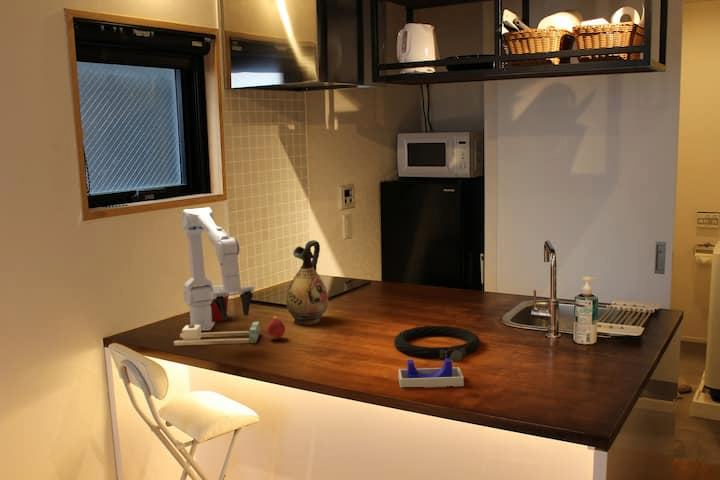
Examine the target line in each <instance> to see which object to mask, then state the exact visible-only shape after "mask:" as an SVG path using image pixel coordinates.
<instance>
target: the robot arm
mask: <svg viewBox="0 0 720 480" xmlns="http://www.w3.org/2000/svg"><path fill="white" fill-rule="evenodd" d="M180 221H181V229H182V232H184V233H186V236H187V248H188V259H189V270H190V278H189V279H188V280H187V281H186V282H185V283H184V284H183V299H184V303H186V305H187V306H189V316H190V318H189V319H190V324H194V325H201V332H202V331H204V332H206V331H211V330H212V328H213V327H214V325H215V324H216V321H212V311H211V306H210V304H211V303H212V301H214V303H215V304H216V306H217V307H218V309H219V311H220V313H221V316H222V319H223V321H226V320H228V314H227V312H228V311H227V312H226V299H224V298H223V297H226V296H229V297H230V296H235V295H239V297H240V301H241V305H242V313H243V316H249V315H250V314H249V311H250V305H251V302H252V299H253V297H254V292H255V289H254V288H255V287H254V285H248V286H247V285H246V286H241V276H240V268H239V260H238V255H239V254H240V243H239V241H238V239H237V238H236V237H232V236H231V237H230V236H229V234H228V233H227V232H226V231H225V230H224V228H223V227H221V226H217V224H216V223H215V221H214V212H213V210H212V209H211V207H210V206H207V207H201V208H200V207H199V208H192V209H191V208H190V209H183V210H182V212H181V214H180ZM204 231H205V232H206V233H207V237H208V240H209V241H210V242H211V244H212V245H213V247H214V248H215V249H214V250H215V253H216V257H217V261H218V263H219V267H220V272H221V273H220V275H221V283H222V285H223V290H222V291H217V292H214V289H213V286H214V284H213V282H212V280H211V279H209V278H208V277H206V273H205V271H206V270H205V261H204V252H203V251H204V250H203V240H202V238H203V237H202V233H203V232H204ZM226 294H227V295H226Z"/></svg>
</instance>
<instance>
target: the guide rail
mask: <svg viewBox="0 0 720 480" xmlns="http://www.w3.org/2000/svg"><path fill="white" fill-rule="evenodd" d="M260 332H261V331H260V321H253V322H252V324H251V326H250V328H249V330H241V331H239V330H238V331H214V332H213V331H212V332H211V331H209V332H206V331H205V332H201V338H210V339H200V340H183V336H182V332H181V333H180V334H179V339H180V340H174V341H173V345H174V346H200V345H203V346H205V345H206V346H207V345H231V344H232V345H233V344H256V343H257V341H258V339H259V336H260V335H261V334H260ZM216 337H217V338H216ZM220 337H221V338H220ZM223 337H224V338H223ZM225 337H240V338H225ZM241 337H245V338H241ZM246 337H247V338H246ZM211 338H216V339H211ZM181 339H182V340H181Z"/></svg>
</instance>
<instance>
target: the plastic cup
mask: <svg viewBox="0 0 720 480" xmlns="http://www.w3.org/2000/svg"><path fill="white" fill-rule="evenodd" d="M213 289H214V292H217V291H222V290H223V284H222V285H213ZM226 295H227V294H226ZM223 298H224V299H226V312H228V305H229V298H230V296H226V297H223ZM210 306H211V311H212V322H222V321H223V322H224V320H223V319H222V316H221V313H220V311H219V309H218V307H217V306H216V304H215V303H214V301H212V303H211V304H210Z"/></svg>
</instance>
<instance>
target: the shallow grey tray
mask: <svg viewBox="0 0 720 480" xmlns="http://www.w3.org/2000/svg"><path fill="white" fill-rule="evenodd" d="M441 368H442V367H426V368H425V367H424V368H422V367H421V368H416V369H417V370H418V371H419V372H421V373H423V374H434V373H436V372H438V371H439V370H440V369H441ZM397 371H398V373H397V375H398V382H399V388H400V389H402V388H401V387H424V388H447V386H448V387H449V386H453V387H464V385H465V384H464V382H465V381H464V376H463V372H462V371H461V369H460V367H459V366H457V367H454V366H452V377H436V378H408V368H398V370H397ZM403 377H404V378H403Z"/></svg>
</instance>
